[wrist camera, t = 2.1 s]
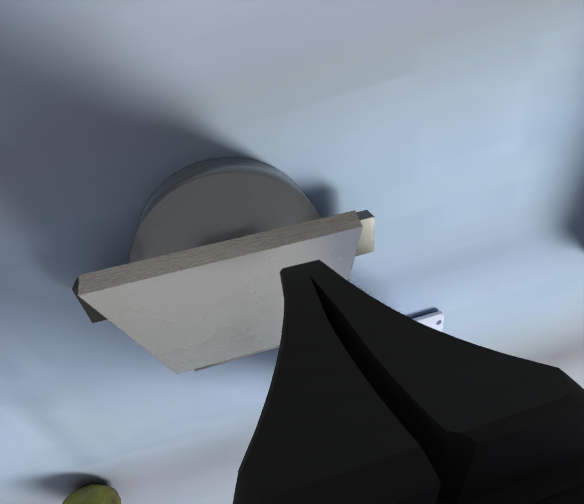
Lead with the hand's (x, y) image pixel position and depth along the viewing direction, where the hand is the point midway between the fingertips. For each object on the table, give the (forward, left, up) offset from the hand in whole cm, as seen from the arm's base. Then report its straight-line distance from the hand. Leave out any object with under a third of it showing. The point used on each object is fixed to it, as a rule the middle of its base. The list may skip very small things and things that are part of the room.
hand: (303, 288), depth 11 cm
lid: (-4, +2, -5) cm, 7 cm away
